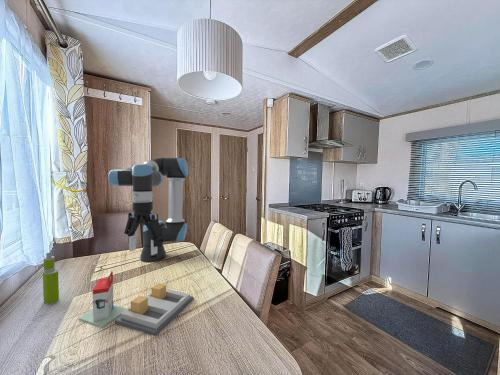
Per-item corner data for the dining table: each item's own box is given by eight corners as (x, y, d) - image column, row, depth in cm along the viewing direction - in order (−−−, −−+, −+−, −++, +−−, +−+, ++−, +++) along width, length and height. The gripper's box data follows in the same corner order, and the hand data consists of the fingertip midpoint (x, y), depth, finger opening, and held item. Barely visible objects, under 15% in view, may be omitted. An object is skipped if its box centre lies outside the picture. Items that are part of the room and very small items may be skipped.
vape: (53, 296, 90) (52, 251, 89) (60, 300, 87) (58, 253, 86) (42, 301, 87) (40, 253, 86) (48, 305, 84) (46, 256, 83)
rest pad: (105, 304, 85) (105, 302, 85) (127, 310, 81) (127, 308, 81) (78, 319, 76) (78, 318, 76) (102, 327, 72) (102, 326, 72)
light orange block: (139, 308, 81) (139, 295, 80) (147, 310, 79) (147, 297, 79) (130, 314, 77) (130, 301, 77) (139, 316, 76) (139, 303, 75)
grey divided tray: (159, 291, 95) (159, 284, 95) (193, 299, 89) (193, 292, 89) (114, 323, 74) (114, 314, 74) (155, 336, 68) (155, 326, 68)
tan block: (158, 294, 90) (158, 283, 90) (166, 296, 89) (166, 284, 89) (151, 299, 86) (151, 287, 86) (159, 301, 85) (159, 289, 85)
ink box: (99, 308, 81) (98, 271, 81) (113, 305, 83) (113, 269, 83) (92, 322, 74) (91, 281, 73) (109, 318, 76) (108, 279, 75)
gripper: (114, 200, 88) (114, 251, 89) (158, 203, 81) (158, 259, 82) (129, 199, 95) (130, 246, 97) (171, 201, 88) (171, 252, 89)
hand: (143, 252), depth 89 cm, fingers open, 11 cm apart
